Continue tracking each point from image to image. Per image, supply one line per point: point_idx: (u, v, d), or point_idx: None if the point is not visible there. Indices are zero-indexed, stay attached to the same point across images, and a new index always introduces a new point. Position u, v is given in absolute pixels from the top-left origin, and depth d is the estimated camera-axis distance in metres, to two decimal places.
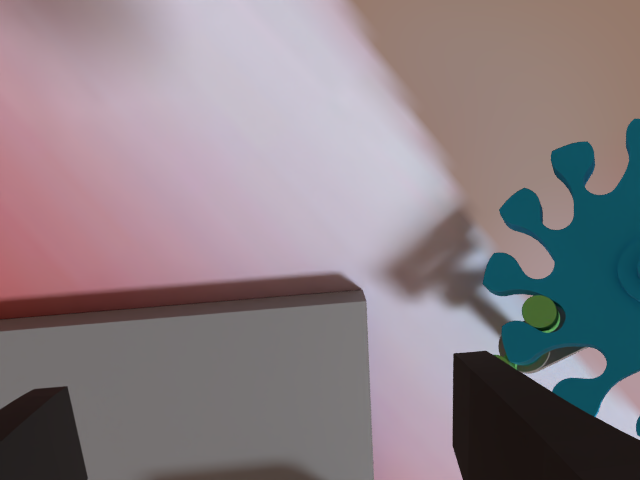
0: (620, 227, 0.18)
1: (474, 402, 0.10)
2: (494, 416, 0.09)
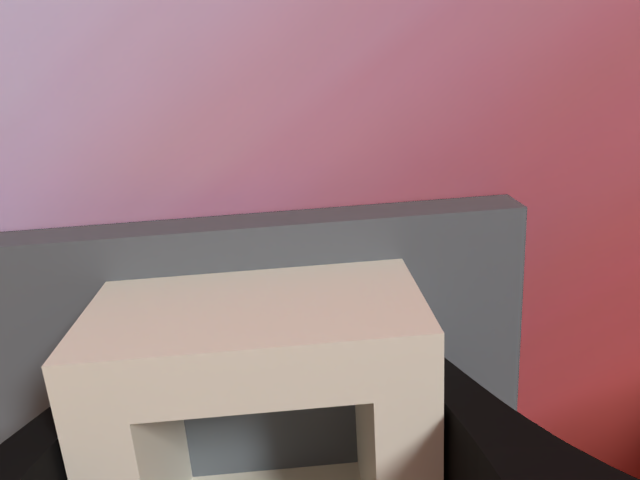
0: None
1: None
2: None
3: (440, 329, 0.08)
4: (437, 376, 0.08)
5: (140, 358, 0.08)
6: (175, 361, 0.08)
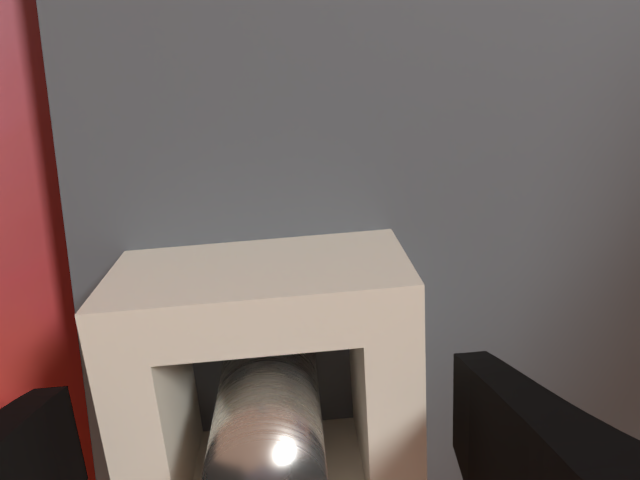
0: None
1: (474, 402, 0.10)
2: (494, 416, 0.09)
3: (421, 282, 0.09)
4: (419, 323, 0.09)
5: (160, 308, 0.09)
6: (191, 310, 0.09)
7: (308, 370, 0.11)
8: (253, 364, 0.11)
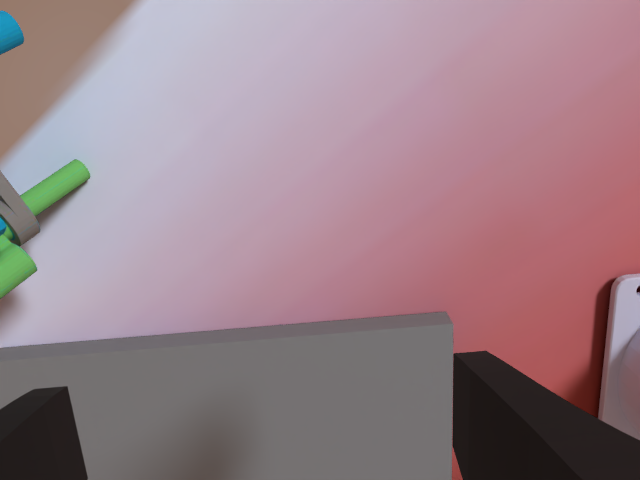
0: None
1: (474, 402, 0.10)
2: (494, 416, 0.09)
3: None
4: None
5: None
6: None
7: None
8: None
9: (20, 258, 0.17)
